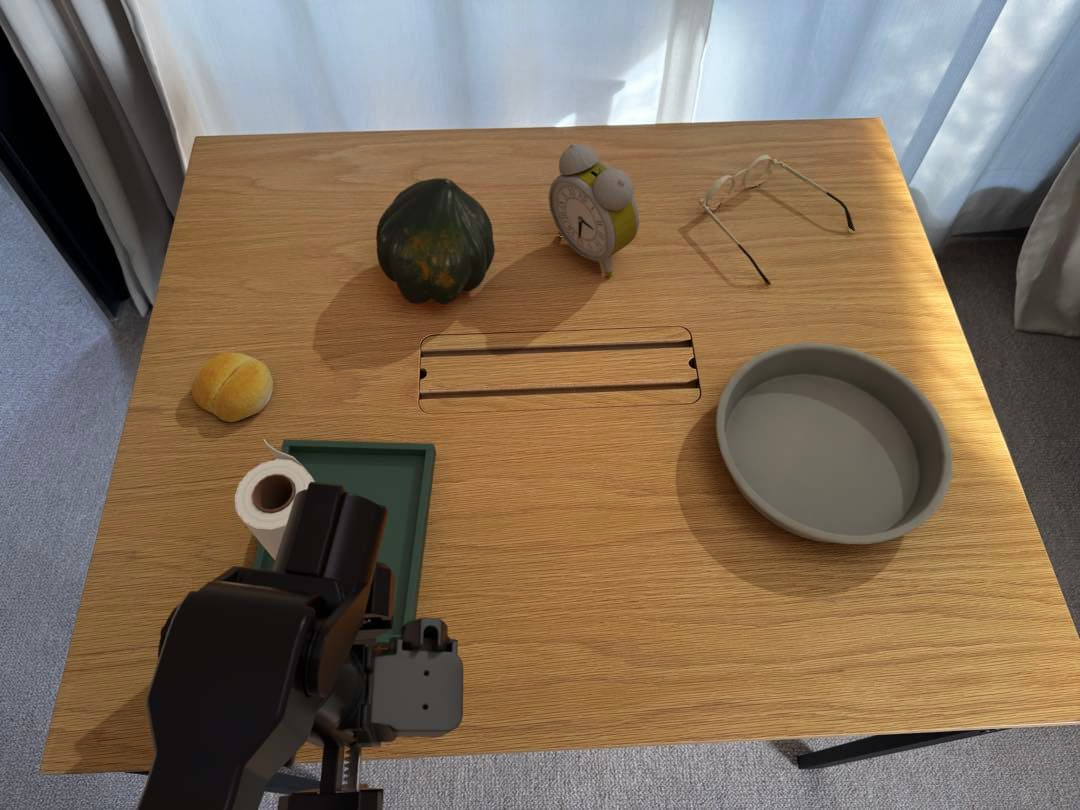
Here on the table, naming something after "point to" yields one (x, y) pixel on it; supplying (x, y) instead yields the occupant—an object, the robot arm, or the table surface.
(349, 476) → the tray
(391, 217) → the squash
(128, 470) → the table surface
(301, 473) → the paper towel roll
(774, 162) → the wire-rimmed eyeglasses
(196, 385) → the bread roll
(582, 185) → the alarm clock
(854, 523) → the cake pan
